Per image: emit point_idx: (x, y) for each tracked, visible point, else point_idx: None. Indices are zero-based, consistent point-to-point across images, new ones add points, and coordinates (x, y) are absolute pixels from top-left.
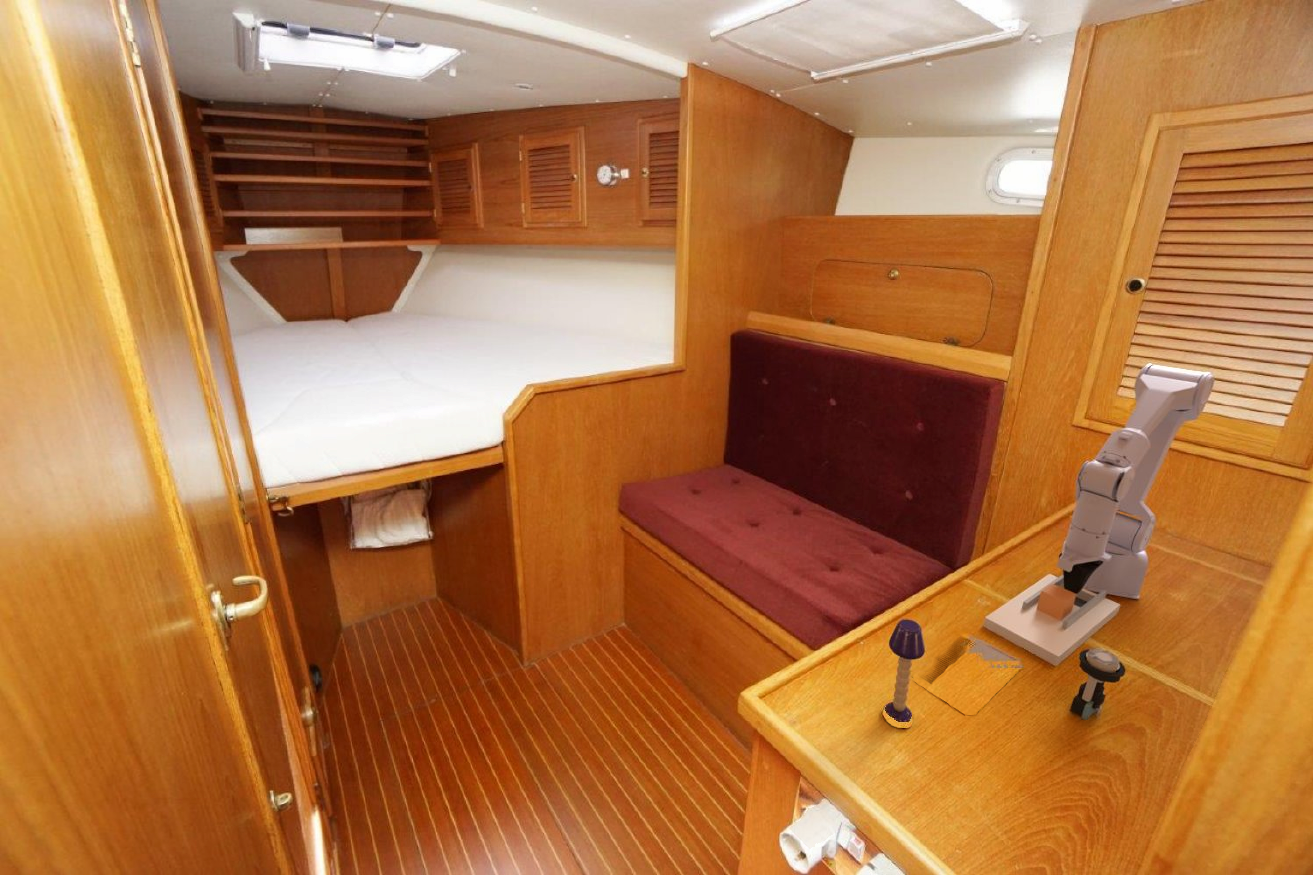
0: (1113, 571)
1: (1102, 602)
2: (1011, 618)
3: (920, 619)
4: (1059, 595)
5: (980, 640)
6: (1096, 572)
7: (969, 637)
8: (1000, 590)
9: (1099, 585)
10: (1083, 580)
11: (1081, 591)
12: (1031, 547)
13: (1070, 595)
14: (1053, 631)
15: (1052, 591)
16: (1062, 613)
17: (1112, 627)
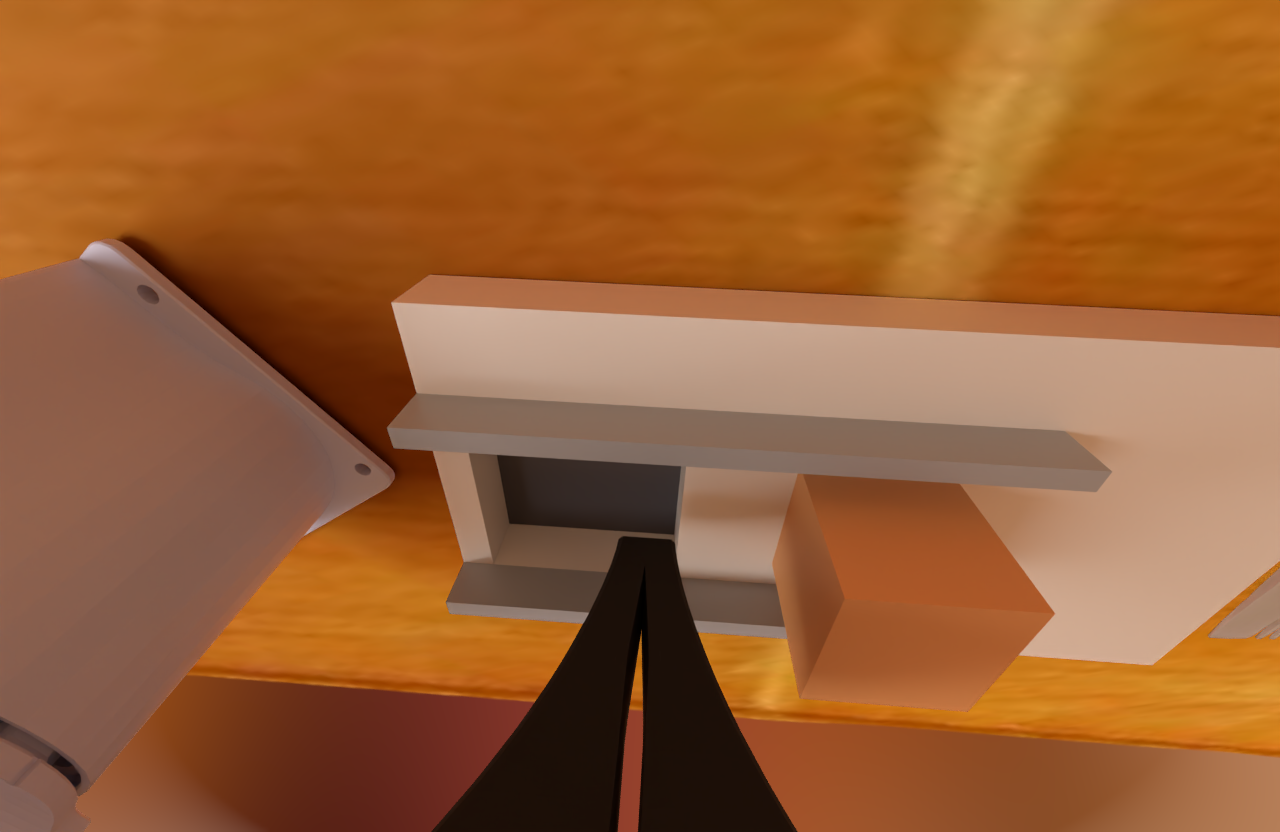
0: (131, 503)
1: (491, 386)
2: (1092, 609)
3: (1176, 717)
4: (967, 652)
5: (1264, 596)
6: (251, 535)
7: (1253, 621)
8: (741, 641)
9: (293, 447)
10: (717, 685)
11: (481, 490)
12: (301, 656)
13: (906, 615)
14: (1130, 466)
15: (927, 679)
16: (984, 519)
17: (631, 238)
